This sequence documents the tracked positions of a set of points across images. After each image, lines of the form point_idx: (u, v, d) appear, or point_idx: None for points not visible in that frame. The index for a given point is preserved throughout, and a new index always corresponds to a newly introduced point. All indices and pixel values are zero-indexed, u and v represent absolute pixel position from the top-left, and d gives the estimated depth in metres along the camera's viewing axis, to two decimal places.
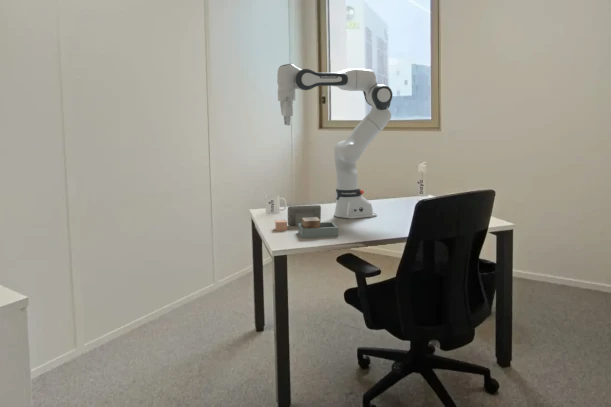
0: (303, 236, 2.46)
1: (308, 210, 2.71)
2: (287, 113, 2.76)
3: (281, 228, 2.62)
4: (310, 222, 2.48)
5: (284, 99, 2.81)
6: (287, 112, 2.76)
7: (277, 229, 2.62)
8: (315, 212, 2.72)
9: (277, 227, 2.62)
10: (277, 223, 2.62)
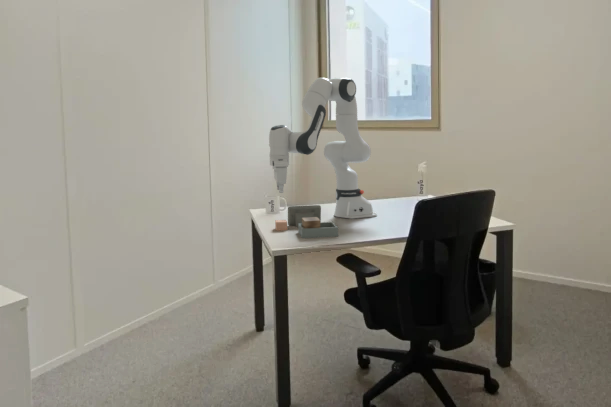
0: (303, 236, 2.46)
1: (308, 210, 2.71)
2: None
3: (281, 228, 2.62)
4: (310, 222, 2.48)
5: None
6: None
7: (277, 229, 2.62)
8: (315, 212, 2.72)
9: (277, 227, 2.62)
10: (277, 223, 2.62)
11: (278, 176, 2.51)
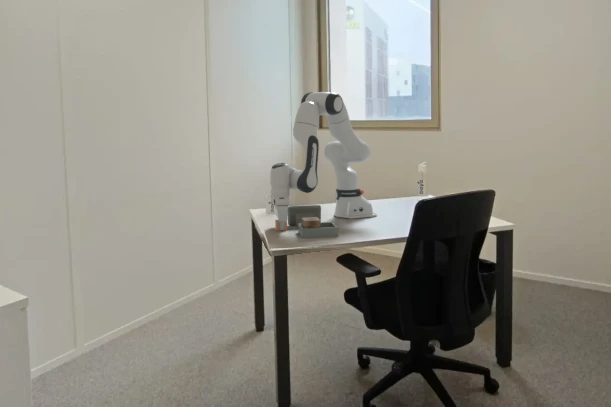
0: (303, 236, 2.46)
1: (308, 210, 2.71)
2: None
3: None
4: (310, 222, 2.48)
5: None
6: None
7: (277, 229, 2.62)
8: (315, 212, 2.72)
9: (277, 227, 2.62)
10: (277, 223, 2.62)
11: (279, 214, 2.54)
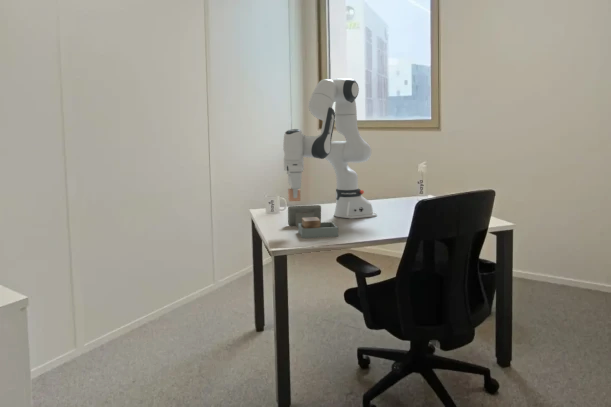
0: (303, 236, 2.46)
1: (308, 210, 2.71)
2: None
3: None
4: (310, 222, 2.48)
5: None
6: None
7: (290, 197, 2.54)
8: (315, 212, 2.72)
9: (290, 195, 2.53)
10: (290, 191, 2.53)
11: (292, 181, 2.45)
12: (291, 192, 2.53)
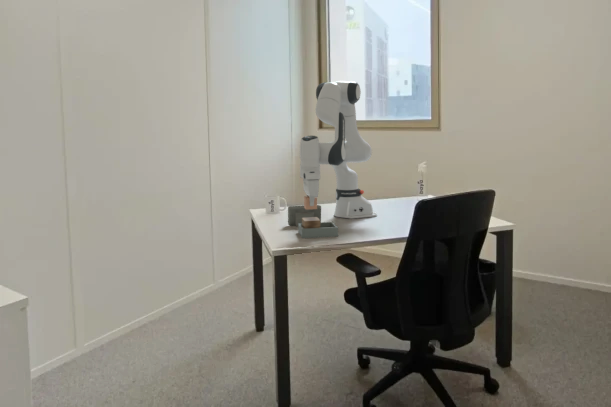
0: (303, 236, 2.46)
1: (308, 210, 2.71)
2: None
3: None
4: (310, 222, 2.48)
5: None
6: None
7: (306, 205, 2.48)
8: (315, 212, 2.72)
9: (306, 203, 2.48)
10: (306, 199, 2.47)
11: (310, 189, 2.39)
12: (307, 200, 2.48)
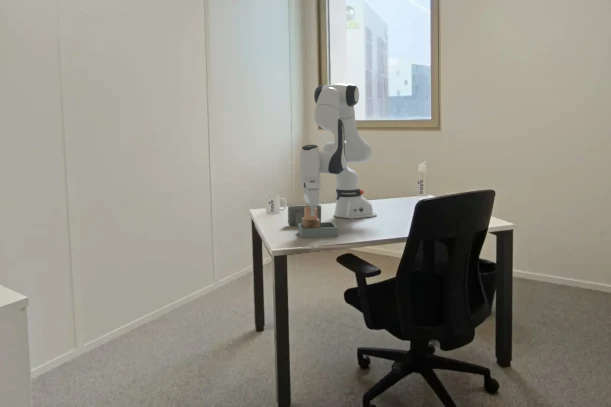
0: (303, 236, 2.46)
1: None
2: None
3: None
4: (310, 222, 2.48)
5: None
6: None
7: (307, 216, 2.49)
8: None
9: (307, 214, 2.49)
10: (307, 210, 2.48)
11: (310, 199, 2.40)
12: (308, 211, 2.49)
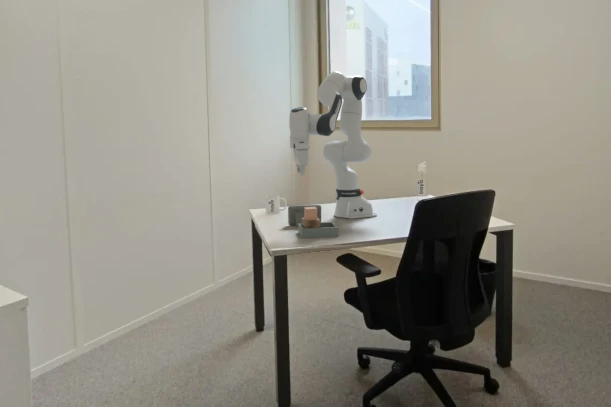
0: (303, 236, 2.46)
1: None
2: None
3: (311, 215, 2.49)
4: (310, 222, 2.48)
5: None
6: None
7: (307, 216, 2.49)
8: None
9: (307, 214, 2.49)
10: (307, 210, 2.48)
11: (300, 158, 2.50)
12: (308, 211, 2.49)
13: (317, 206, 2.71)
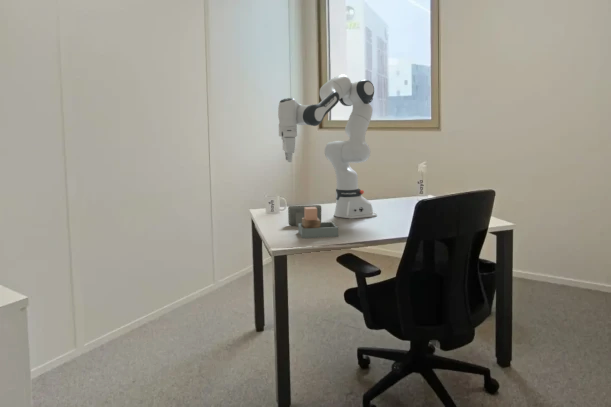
0: (303, 236, 2.46)
1: None
2: None
3: (311, 215, 2.49)
4: (310, 222, 2.48)
5: None
6: None
7: (307, 216, 2.49)
8: None
9: (307, 214, 2.49)
10: (307, 210, 2.48)
11: (287, 145, 2.65)
12: (308, 211, 2.49)
13: (317, 206, 2.71)
